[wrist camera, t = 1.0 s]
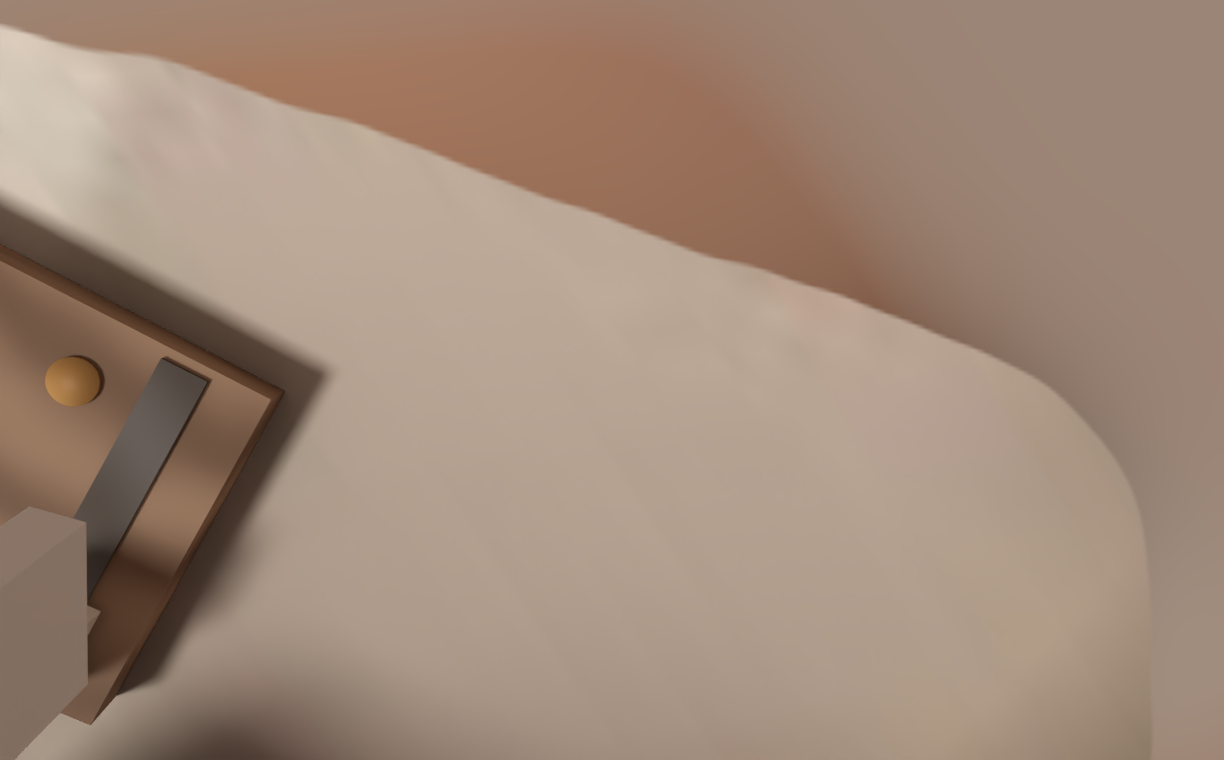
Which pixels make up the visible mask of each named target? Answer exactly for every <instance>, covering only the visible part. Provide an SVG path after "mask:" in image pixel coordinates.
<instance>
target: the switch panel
mask: <svg viewBox="0 0 1224 760" xmlns="http://www.w3.org/2000/svg"><path fill="white" fill-rule="evenodd" d="M284 392H285V391H283V390H281V389H279V388H277V387H275V386H274V385H272V384H270V383H268V382H266V381H264V380H262V379H260V378H258V377H256V376H254V375H252V374H250V373H248V372H246V371H244V370H243V369H241V368H239V367H237V366H235V365H233V364H231V363H229V362H227V361H225V360H223V359H221V358H219V357H217V356H215V355H214V354H212V353H210V352H208V351H206V350H204V349H202V348H200V347H198V346H196V345H194V344H192V343H190V342H188V341H186V340H185V339H183V338H181V337H179V336H177V335H175V334H173V333H171V332H169V331H167V330H165V329H163V328H161V327H159V326H157V325H155V324H154V323H152V322H150V321H148V320H146V319H144V318H142V317H140V316H138V315H136V314H134V313H132V312H130V311H128V310H126V309H125V308H123V307H121V306H119V305H117V304H115V303H113V302H111V301H109V300H107V299H105V298H103V297H101V296H99V295H97V294H95V293H94V292H92V291H90V290H88V289H86V288H84V287H82V286H80V285H78V284H76V283H74V282H72V281H70V280H68V279H66V278H65V277H63V276H61V275H59V274H57V273H55V272H53V271H51V270H49V269H47V268H45V267H43V266H41V265H39V264H37V263H36V262H34V261H32V260H30V259H28V258H26V257H24V256H22V255H20V254H18V253H16V252H14V251H12V250H10V249H8V248H6V247H5V246H3V245H1V244H0V526H1V525H3V524H4V523H6V522H7V521H8V520H10V519H11V518H13V517H14V516H16V515H17V514H19V513H20V512H22V511H23V510H25V509H26V508H27V507H29V506H30V507H33V508H37V509H40V510H44V511H48V512H51V513H55V514H58V515H62V516H66V517H69V518H73V519H76V520H80V521H84V522H86V548H87V606H90V607H92V608H94V609H96V610H99V611H101V612H100V614H99V616H98V618H97V620H96V621H95V623H94V625H93V627H92V629H91V630H90V632H89V634H88V636H87V650H88V684H87V686H86V687H85V688H84V689H83V690H82V691H81V692H80V693H79V694H78V695H77V696H76V697H75V698H74V699H73V700H72V701H71V702H70V703H69V704H68V705H67V706H66V707H65V708H64V709H63V710H62V711H61V712H60V713H62V714H65V715H67V716H70V717H72V718H74V719H77V720H79V721H82V722H84V723H86V724H89V725H91V724H92V723H93V722H94V721H95V719H96V718H97V717H98V716H99V715H100V714H101V713H102V711H103V710H104V709H105V708H106V707H107V706H108V705H109V703H110V702H111V701H112V700H113V699H114V698H115V697H116V695H117V693H118V691H119V689H120V688H121V686H122V684H123V682H124V680H125V679H126V677H127V675H128V673H129V671H130V670H131V668H132V666H133V664H134V662H135V661H136V659H137V657H138V655H139V653H140V652H141V650H142V648H143V646H144V644H145V643H146V641H147V639H148V637H149V635H150V634H151V632H152V630H153V628H154V626H155V625H156V623H157V621H158V619H159V617H160V616H161V614H162V612H163V610H164V608H165V607H166V605H167V603H168V601H169V599H170V598H171V596H172V594H173V592H174V590H175V589H176V587H177V585H178V583H179V581H180V579H181V578H182V576H183V574H184V572H185V570H186V569H187V567H188V565H189V563H190V561H191V560H192V558H193V556H194V554H195V552H196V551H197V549H198V547H199V545H200V543H201V542H202V540H203V538H204V536H205V534H206V533H207V531H208V529H209V527H210V525H211V524H212V522H213V520H214V518H215V516H216V515H217V513H218V511H219V509H220V507H221V506H222V504H223V502H224V500H225V498H226V497H227V495H228V493H229V491H230V489H231V488H232V486H233V484H234V482H235V480H236V479H237V477H238V475H239V473H240V471H241V470H242V468H243V466H244V464H245V462H246V461H247V459H248V457H249V455H250V453H251V452H252V450H253V448H254V446H255V444H256V443H257V441H258V439H259V437H260V435H261V434H262V432H263V430H264V428H265V426H266V425H267V423H268V421H269V419H270V417H271V416H272V414H273V412H274V410H275V408H276V407H277V405H278V403H279V401H280V399H281V398H282V396H283V394H284Z"/></svg>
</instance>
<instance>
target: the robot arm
mask: <svg viewBox="0 0 1224 760" xmlns="http://www.w3.org/2000/svg"><path fill="white" fill-rule="evenodd" d="M87 684H88V650H87V548H86V522H84V521H80V520H76V519H73V518H69V517H66V516H62V515H58V514H55V513H51V512H48V511H44V510H40V509H37V508H33V507H30V506H29V507H27V508H26V509H25V510H23V511H22V512H20V513H19V514H17V515H16V516H14V517H13V518H11V519H10V520H8V521H7V522H6V523H4V524H3V525H1V526H0V760H15V759H16V758H17V756H18V755H19V754H20V753H21V752H22V751H23V750H24V749H25V748H26V747H27V746H28V745H29V744H30V743H31V742H32V741H33V740H34V739H35V738H36V737H37V736H38V735H39V734H40V733H41V732H42V731H43V730H44V729H45V728H46V727H47V726H48V725H49V724H50V723H51V722H52V720H53V719H54V718H55V717H56V716H57V715H58V714H59V713H60V712H61V711H62V710H63V709H64V708H65V707H66V706H67V705H68V704H69V703H70V702H71V701H72V700H73V699H74V698H75V697H76V696H77V695H78V694H79V693H80V692H81V691H82V690H83V689H84V688H85V687H86V686H87Z"/></svg>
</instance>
